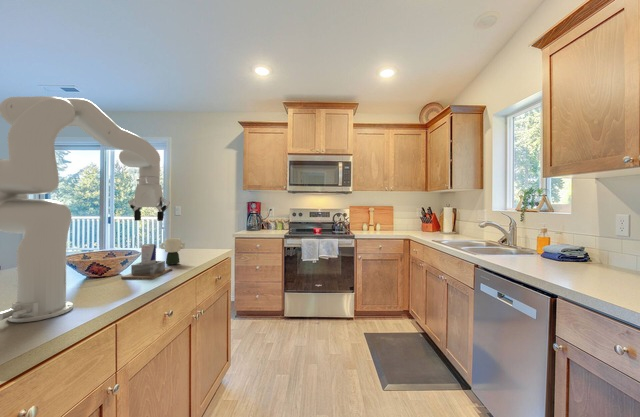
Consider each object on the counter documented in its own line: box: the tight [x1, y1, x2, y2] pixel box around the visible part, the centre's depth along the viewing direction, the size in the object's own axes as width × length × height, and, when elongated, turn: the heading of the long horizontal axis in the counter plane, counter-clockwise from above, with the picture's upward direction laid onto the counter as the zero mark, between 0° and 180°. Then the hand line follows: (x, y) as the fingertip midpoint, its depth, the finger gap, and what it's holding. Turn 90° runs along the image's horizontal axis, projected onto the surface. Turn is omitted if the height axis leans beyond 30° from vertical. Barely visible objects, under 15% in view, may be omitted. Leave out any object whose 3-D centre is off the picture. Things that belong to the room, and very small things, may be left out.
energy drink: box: [140, 243, 157, 265], centre depth 117 cm, size 5×5×12 cm
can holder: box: [121, 260, 173, 280], centre depth 118 cm, size 16×12×5 cm
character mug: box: [160, 237, 186, 265], centre depth 138 cm, size 11×7×13 cm, turn 104°
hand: (148, 220), depth 117 cm, fingers open, 9 cm apart
